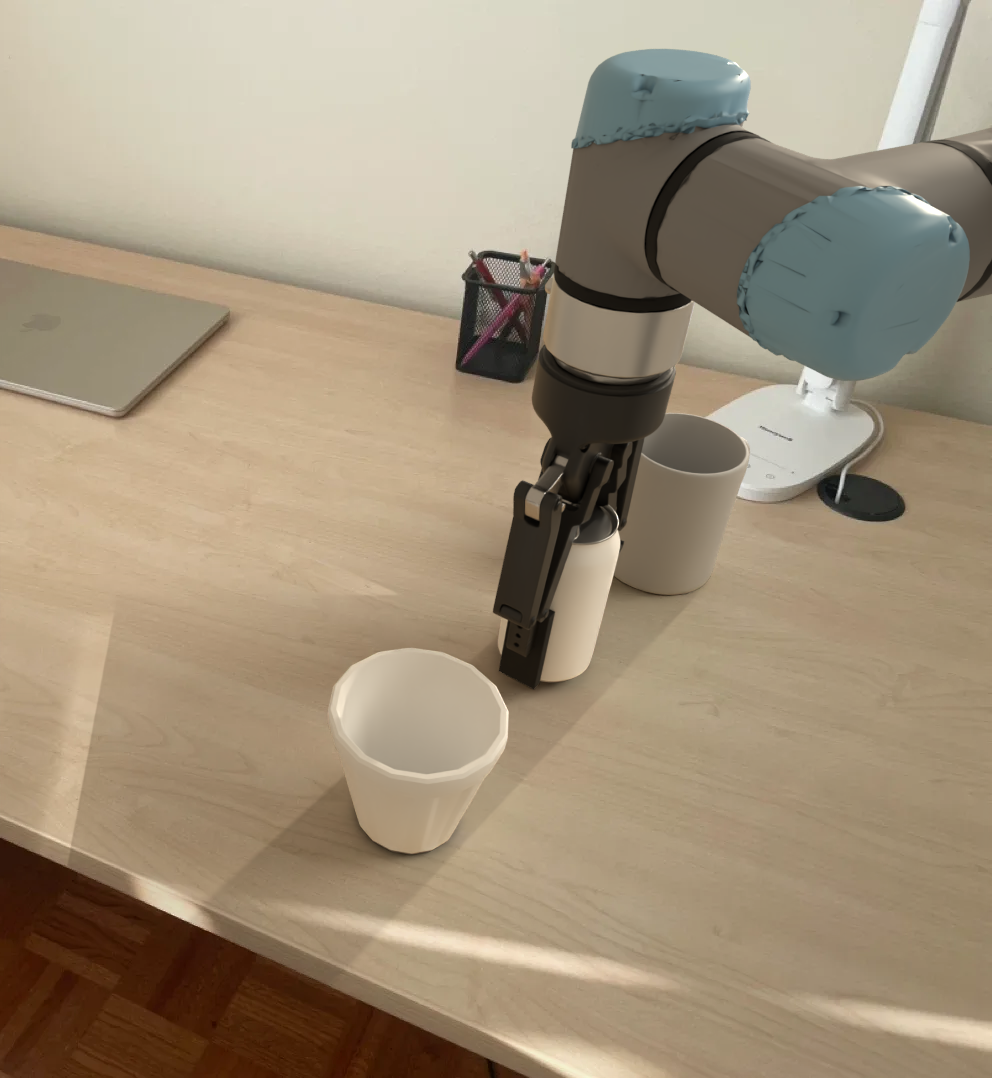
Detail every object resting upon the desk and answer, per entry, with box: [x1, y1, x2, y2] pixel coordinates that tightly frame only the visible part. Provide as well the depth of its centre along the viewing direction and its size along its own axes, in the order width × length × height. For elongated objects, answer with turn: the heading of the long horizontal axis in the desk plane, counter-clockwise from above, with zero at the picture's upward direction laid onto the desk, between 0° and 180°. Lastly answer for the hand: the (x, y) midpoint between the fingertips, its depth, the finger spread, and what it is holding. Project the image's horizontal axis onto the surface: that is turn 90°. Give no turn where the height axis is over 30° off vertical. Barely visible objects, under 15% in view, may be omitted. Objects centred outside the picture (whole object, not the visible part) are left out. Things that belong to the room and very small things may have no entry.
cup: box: [327, 647, 510, 856], centre depth 61 cm, size 10×10×9 cm
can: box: [497, 499, 620, 683], centre depth 70 cm, size 6×6×12 cm
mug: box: [613, 412, 751, 596], centre depth 80 cm, size 12×8×11 cm
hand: (544, 647), depth 74 cm, fingers closed on can, 6 cm apart
